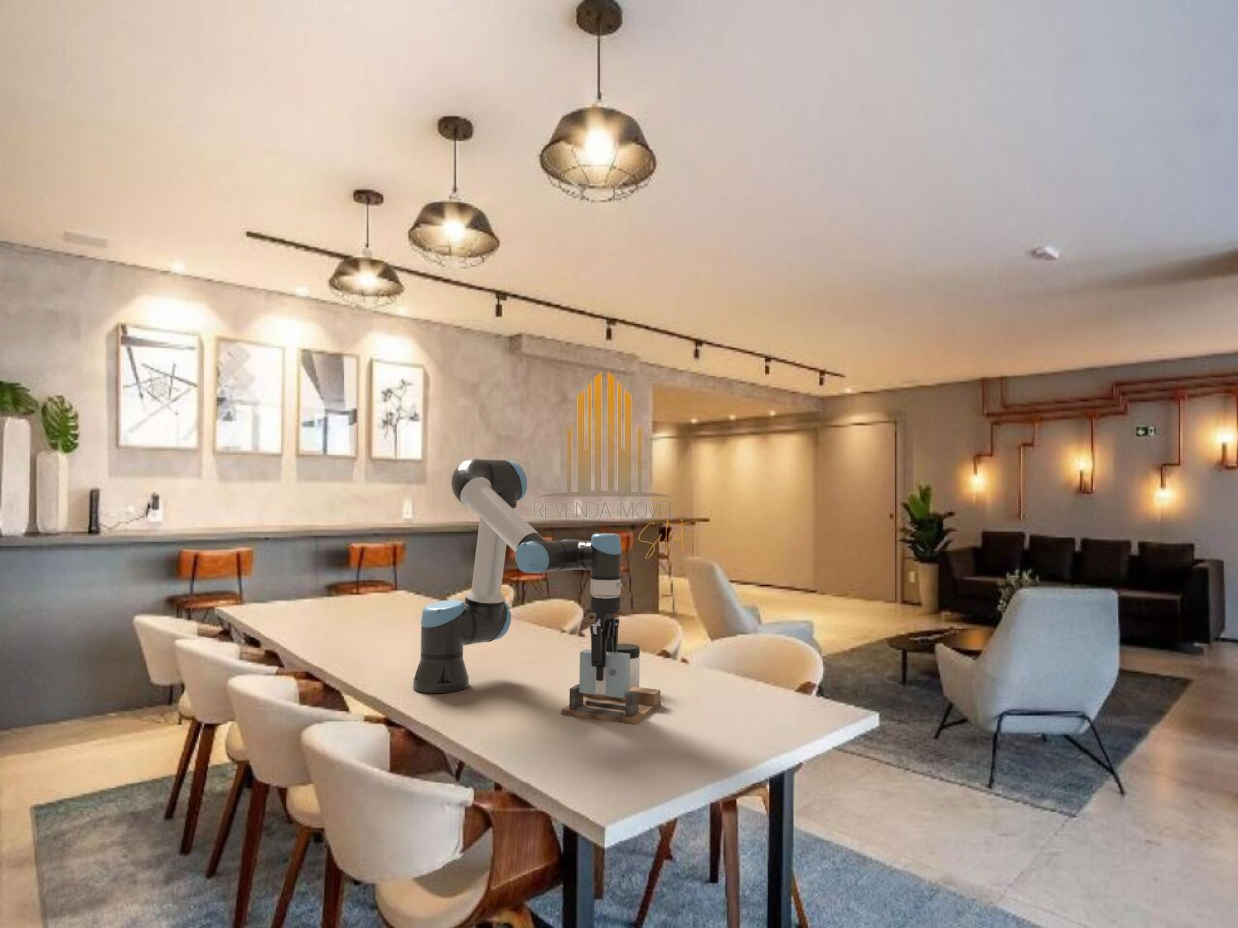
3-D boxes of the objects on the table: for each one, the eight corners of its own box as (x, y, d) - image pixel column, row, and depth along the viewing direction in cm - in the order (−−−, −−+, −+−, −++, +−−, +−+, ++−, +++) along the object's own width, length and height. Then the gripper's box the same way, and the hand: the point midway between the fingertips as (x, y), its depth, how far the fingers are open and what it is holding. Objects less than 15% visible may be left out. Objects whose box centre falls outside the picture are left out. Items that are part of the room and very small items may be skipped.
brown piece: (561, 714, 178) (561, 688, 179) (590, 695, 195) (591, 672, 195) (636, 724, 171) (637, 698, 171) (660, 704, 188) (661, 680, 188)
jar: (619, 695, 196) (620, 650, 197) (603, 688, 203) (604, 645, 204) (646, 690, 201) (646, 647, 202) (629, 684, 208) (630, 642, 208)
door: (577, 693, 178) (578, 652, 178) (585, 689, 182) (585, 649, 182) (622, 699, 173) (623, 657, 174) (629, 694, 177) (629, 653, 178)
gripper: (606, 601, 170) (605, 701, 169) (631, 592, 186) (630, 685, 184) (577, 599, 173) (576, 697, 172) (604, 591, 188) (603, 681, 187)
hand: (604, 691), depth 178 cm, fingers closed on door, 3 cm apart
